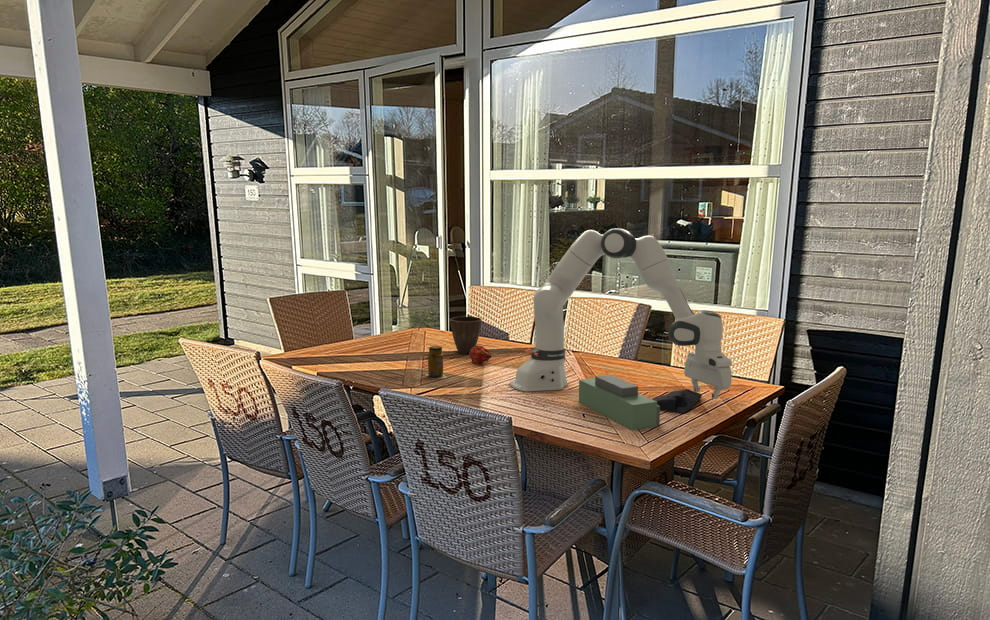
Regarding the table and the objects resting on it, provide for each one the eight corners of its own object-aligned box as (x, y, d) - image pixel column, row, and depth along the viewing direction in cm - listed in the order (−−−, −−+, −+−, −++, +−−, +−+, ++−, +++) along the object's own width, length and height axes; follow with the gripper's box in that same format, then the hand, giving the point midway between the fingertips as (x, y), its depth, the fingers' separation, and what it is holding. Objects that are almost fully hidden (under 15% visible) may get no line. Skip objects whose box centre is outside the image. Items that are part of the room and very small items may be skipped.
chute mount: (632, 430, 197) (633, 395, 195) (578, 401, 226) (579, 371, 224) (661, 425, 201) (662, 391, 199) (605, 398, 230) (606, 368, 228)
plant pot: (463, 347, 314) (463, 315, 312) (488, 351, 306) (488, 318, 303) (443, 352, 302) (443, 319, 300) (468, 357, 294) (468, 322, 291)
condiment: (441, 373, 265) (441, 344, 263) (447, 378, 257) (447, 349, 255) (424, 374, 263) (424, 346, 261) (429, 379, 255) (429, 350, 253)
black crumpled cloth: (709, 401, 228) (710, 388, 227) (681, 416, 211) (682, 402, 211) (669, 393, 238) (670, 381, 237) (640, 407, 221) (640, 393, 221)
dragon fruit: (471, 363, 289) (488, 372, 280) (460, 354, 283) (477, 363, 274) (482, 347, 290) (498, 355, 281) (470, 338, 284) (487, 347, 276)
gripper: (681, 351, 234) (679, 388, 236) (721, 364, 215) (718, 403, 217) (694, 350, 236) (692, 386, 238) (735, 362, 217) (733, 401, 220)
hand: (705, 394), depth 228 cm, fingers open, 8 cm apart
